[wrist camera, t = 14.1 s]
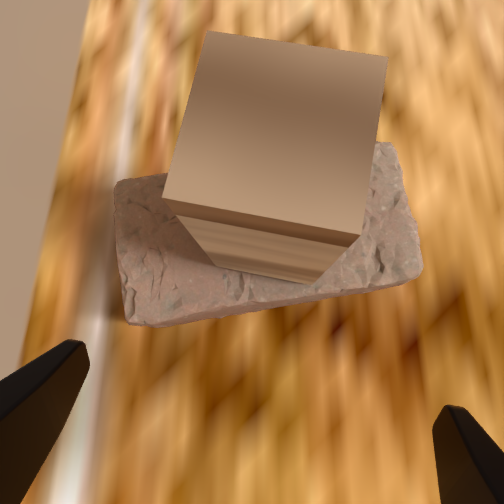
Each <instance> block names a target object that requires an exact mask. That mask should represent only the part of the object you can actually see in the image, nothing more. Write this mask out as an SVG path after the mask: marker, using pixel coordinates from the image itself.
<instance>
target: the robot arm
mask: <svg viewBox="0 0 504 504" xmlns="http://www.w3.org/2000/svg"><path fill="white" fill-rule="evenodd" d="M89 367H90V361H89V357H88V353H87V349H86V345H85V343H84V342H83V341H78V340H72V339H68V340H65V341H64V342H62V343H60V344H59V345H57V346H55V347H54V348H52V349H51V350H49V351H47V352H46V353H44V354H43V355H41V356H39V357H38V358H36V359H35V360H33V361H31V362H30V363H28V364H26V365H25V366H23V367H22V368H20V369H18V370H17V371H15V372H14V373H12V374H10V375H9V376H8V377H5V378H4V379H2V380H1V381H0V504H20V503H21V502H22V500H23V498H24V496H25V495H26V493H27V491H28V489H29V488H30V486H31V484H32V482H33V481H34V479H35V477H36V475H37V473H38V472H39V470H40V468H41V466H42V465H43V463H44V461H45V459H46V458H47V456H48V454H49V452H50V451H51V449H52V447H53V445H54V444H55V442H56V440H57V438H58V436H59V435H60V433H61V431H62V429H63V427H64V425H65V423H66V421H67V419H68V416H69V414H70V412H71V410H72V407H73V405H74V403H75V401H76V398H77V396H78V394H79V392H80V389H81V387H82V385H83V383H84V380H85V378H86V376H87V374H88V371H89ZM432 435H433V443H434V452H435V460H436V469H437V477H438V486H439V493H440V500H441V504H504V452H503V451H502V450H501V449H500V448H499V446H498V445H497V444H496V443H495V442H494V441H493V440H492V438H491V437H490V436H489V435H488V434H487V433H486V431H485V430H484V429H483V428H482V427H481V426H480V424H479V423H478V422H477V421H476V420H475V419H474V417H473V416H472V415H471V414H470V413H469V412H468V411H467V410H466V409H465V408H463V407H459V406H454V405H445V406H444V407H443V409H442V410H441V412H440V414H439V415H438V417H437V419H436V420H435V422H434V424H433V429H432Z"/></svg>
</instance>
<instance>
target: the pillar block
mask: <svg viewBox="0 0 504 504" xmlns="http://www.w3.org/2000/svg"><path fill="white" fill-rule="evenodd" d="M387 63H388V57H385V56H378V55H371V54H364V53H358V52H351V51H344V50H337V49H330V48H324V47H317V46H310V45H303V44H296V43H289V42H283V41H276V40H269V39H262V38H255V37H248V36H242V35H235V34H228V33H221V32H214V31H208V30H207V33H206V37H205V40H204V44H203V48H202V51H201V55H200V59H199V62H198V66H197V70H196V73H195V77H194V81H193V84H192V88H191V92H190V95H189V99H188V103H187V106H186V110H185V114H184V117H183V121H182V125H181V128H180V132H179V136H178V139H177V143H176V147H175V150H174V154H173V158H172V161H171V165H170V169H169V172H168V176H167V180H166V184H165V187H164V191H163V195H162V199H163V200H164V201H165V202H166V204H167V205H168V206H169V207H170V209H171V210H172V211H173V212H174V214H175V215H176V216H177V218H178V219H179V220H180V221H181V223H182V224H183V225H184V226H185V228H186V229H187V230H188V231H189V233H190V234H191V235H192V236H193V238H194V239H195V240H196V241H197V243H198V244H199V245H200V246H201V248H202V249H203V250H204V252H205V253H206V254H207V255H208V257H209V258H210V259H211V260H212V262H213V263H214V264H215V265H216V266H218V267H223V268H228V269H233V270H238V271H243V272H248V273H253V274H258V275H263V276H268V277H273V278H278V279H283V280H288V281H293V282H298V283H303V284H308V285H313V284H314V283H315V282H316V281H317V280H318V279H319V278H320V277H321V276H322V274H323V273H324V272H325V271H326V270H327V269H328V268H329V267H330V266H331V265H332V264H333V263H334V262H335V261H336V260H337V259H338V258H339V257H340V256H341V255H342V254H343V253H344V252H345V251H346V250H347V249H348V248H349V247H350V246H351V245H352V244H353V243H354V242H355V241H356V240H357V239H358V238H359V237H360V236H361V233H362V227H363V220H364V213H365V207H366V200H367V194H368V187H369V181H370V174H371V168H372V161H373V155H374V148H375V142H376V135H377V129H378V122H379V116H380V109H381V103H382V96H383V90H384V83H385V77H386V70H387Z"/></svg>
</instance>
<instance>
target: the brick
mask: <svg viewBox="0 0 504 504" xmlns="http://www.w3.org/2000/svg"><path fill="white" fill-rule="evenodd" d="M167 176H168V173H163V174H157V175H151V176H145V177H140V178H135V179H131V178H130V179H124V180H121V181H119V182H117V184H116V186H115V188H114V204H115V207H116V211H115V213H114V221H115V239H116V254H117V263H118V268H119V275H120V284H121V290H122V300H123V306H124V311H125V320H126V321H127V323H128V324H129V325H135V326H149V327H155V328H159V327H169V326H173V325H177V324H184V323H189V322H194V321H199V320H203V319H209V318H222V317H225V316H228V315H239V314H244V313H248V312H257V311H261V310H264V309H271V308H276V307H282V306H288V305H293V304H300V303H305V302H312V301H317V300H322V299H327V298H332V297H338V296H345V295H350V294H359V293H367V292H371V291H375V290H380V289H385V288H389V287H393V286H399V285H402V284H405V283H407V282H409V281H410V280H412V279H415V278H417V277H418V276H419V275H420V273H421V272H422V269H423V261H422V255H421V250H420V238H419V236H418V226H417V222H416V220H415V219H414V218H413V217H412V215H411V210H410V208H409V205H408V197H407V195H406V193H405V189H404V186H403V171H402V168H401V166H400V164H399V160H398V155H397V151H396V149H395V148H394V146H393V145H392V144H391V142H378V141H376V142H375V148H374V155H373V161H372V168H371V174H370V181H369V187H368V194H367V200H366V207H365V213H364V220H363V227H362V233H361V236H360V237H359V238H358V239H357V240H356V241H355V242H354V243H353V244H352V245H351V246H350V247H349V248H348V249H347V250H346V251H345V252H344V253H343V254H342V255H341V256H340V257H339V258H338V259H337V260H336V261H335V262H334V263H333V264H332V265H331V266H330V267H329V268H328V269H327V270H326V271H325V272H324V273H323V274H322V276H321V277H320V278H319V279H318V280H317V281H316V282H315V283H314V284H313V285H308V284H303V283H298V282H293V281H288V280H283V279H278V278H273V277H268V276H263V275H258V274H253V273H248V272H243V271H238V270H233V269H228V268H223V267H218V266H216V265H215V264H214V263H213V262H212V260H211V259H210V258H209V257H208V255H207V254H206V253H205V252H204V250H203V249H202V248H201V246H200V245H199V244H198V243H197V241H196V240H195V239H194V238H193V236H192V235H191V234H190V233H189V231H188V230H187V229H186V228H185V226H184V225H183V224H182V223H181V221H180V220H179V219H178V218H177V216H176V215H175V214H174V212H173V211H172V210H171V209H170V207H169V206H168V205H167V204H166V202H165V201H164V200H163V199H162V195H163V191H164V187H165V184H166V180H167Z"/></svg>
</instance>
